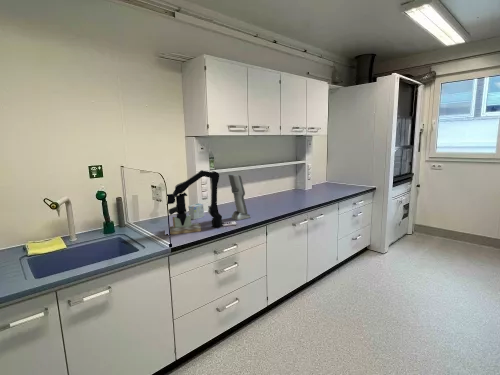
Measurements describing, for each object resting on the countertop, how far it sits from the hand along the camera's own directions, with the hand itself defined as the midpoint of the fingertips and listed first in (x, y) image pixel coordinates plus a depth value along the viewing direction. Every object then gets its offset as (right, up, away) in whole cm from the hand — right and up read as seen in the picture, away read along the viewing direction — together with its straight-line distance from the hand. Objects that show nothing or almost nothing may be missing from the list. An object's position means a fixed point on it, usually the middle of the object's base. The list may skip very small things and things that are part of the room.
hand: (182, 224), depth 184 cm
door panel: (0, -3, 0) cm, 3 cm away
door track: (0, -4, +1) cm, 5 cm away
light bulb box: (+3, +1, +35) cm, 35 cm away
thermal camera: (+39, +2, +29) cm, 48 cm away
